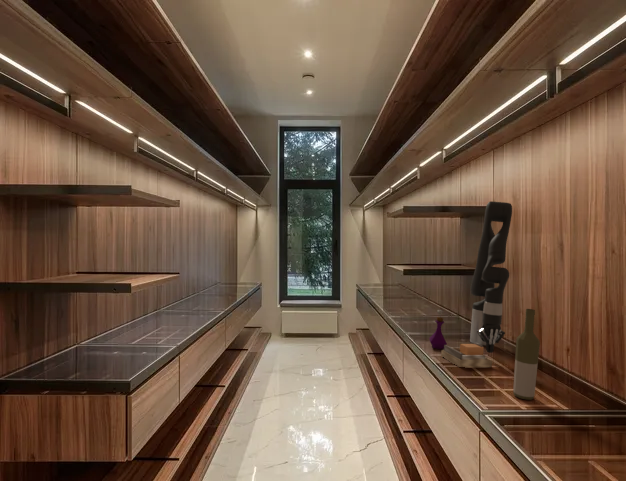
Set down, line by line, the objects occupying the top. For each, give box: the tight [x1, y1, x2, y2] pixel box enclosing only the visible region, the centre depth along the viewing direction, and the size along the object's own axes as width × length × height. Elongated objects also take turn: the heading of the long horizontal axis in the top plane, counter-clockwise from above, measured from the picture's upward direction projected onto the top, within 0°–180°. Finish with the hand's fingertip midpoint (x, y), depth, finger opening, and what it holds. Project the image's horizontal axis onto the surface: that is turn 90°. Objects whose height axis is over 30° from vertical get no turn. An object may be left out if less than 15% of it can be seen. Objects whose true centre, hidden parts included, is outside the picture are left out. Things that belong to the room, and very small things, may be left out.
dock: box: [440, 345, 493, 369], centre depth 171 cm, size 15×14×6 cm
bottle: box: [512, 308, 541, 401], centre depth 135 cm, size 7×7×30 cm
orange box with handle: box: [459, 342, 485, 355], centre depth 171 cm, size 8×5×5 cm, turn 103°
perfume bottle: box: [428, 309, 448, 350], centre depth 190 cm, size 8×8×18 cm
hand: (489, 352), depth 173 cm, fingers closed
